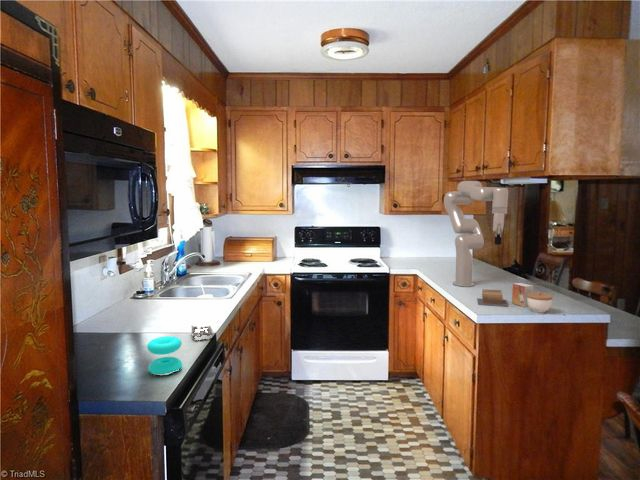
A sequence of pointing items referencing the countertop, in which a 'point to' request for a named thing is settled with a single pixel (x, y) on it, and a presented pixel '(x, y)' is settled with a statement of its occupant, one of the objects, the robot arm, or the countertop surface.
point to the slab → (492, 296)
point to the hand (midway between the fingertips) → (497, 244)
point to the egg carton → (202, 331)
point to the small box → (521, 294)
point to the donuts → (163, 347)
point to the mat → (504, 303)
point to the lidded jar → (539, 302)
